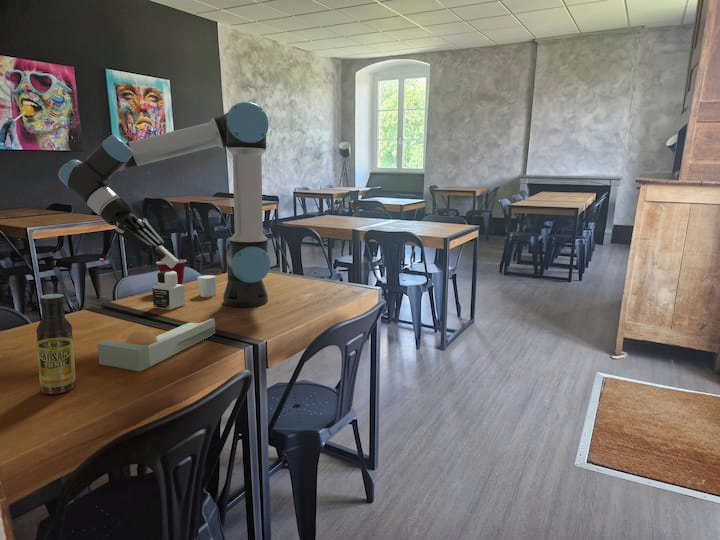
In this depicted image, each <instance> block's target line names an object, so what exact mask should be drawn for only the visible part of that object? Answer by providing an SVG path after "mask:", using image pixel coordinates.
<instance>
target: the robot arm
mask: <svg viewBox="0 0 720 540" xmlns="http://www.w3.org/2000/svg"><path fill="white" fill-rule="evenodd" d="M268 131H269V118H268V116H267V113H266V112H265V110H264V109H263V108H262V107H261V106H260V105H258V104H257V103H255V102H251V101H241V102H238V103H236V104H234V105H232V106H231V107H230V109H228V112H226V113H223V114H222V115H218V116H215V117H212V118H211V119H210V121H209V122H204V123H201V124H196V125H193V126H189V127H185V128H181V129H177V130H172V131H168V132H164V133H160V134H155V135H151V136H147V137H144V138H139V139H135V140H131V141H126V142H124V141H123V140H122V139H121V138H120V137H118V136H117V135H115V134H111V135H110V136H108V137H106V139H104V140H103V141H102V142H101V144H99V146H97V148H96V149H94V151H93V152H91V154H89V156H88V157H86V158H85V159H84V160H83V161H81V160H79V159H71V160H69V161H68V162H66V163H64V164H63V165H62V166H61V167H60V168H59V170H58V174H57V176H58V179H59V180H60V181H61V182H62V183H63V184H64V185H65V186H66V187H67V189H68V190H69V191H70V192H72V193H73V194H74V195H76V197H78V199H79V200H81V202H83V203H84V204H86V205H87V206H88V207H89V208H90V209H92V211H93V212H94V213H96V214H97V215H98V216H100V218H101V219H103V221H104V222H106V223H107V225H109V226H115V229H114V230H113V232H114V234H117V235H119V236H121V237H123V238H124V239H125V240H126V241H128V242H130V243H131V244H133V245H134V246H135V247H137V248H138V249H139V250H141V251H142V252H144V253H147V254H148V255H152V254H154V255H155V256H156V257H157V258H158V259H160V261H163V262H164V263H165V264H166V265H167V266H169V267H170V268H173V267H174V266H175V265H176V264H177V262H178V261H179V260H180V259H178V258H176V257H175V255H173V254H172V253H171V252H170V251H169V250H168V249H166V248H165V247H164V246H163V244H164V239H163V238H162V237H161V236H160V235H159V234H158V233H157V232H156V230H155V229H154V228H153V227H152V226H151V225H150V223H149V221H148V219H147V218H145V217H143V218H142V219H141V218H138V217H137V215H135V214H133V213H132V207H131V205H130V204H129V203H128V202H126V200H124V199H123V198H120V196H119V195H118V194H117V193H116V192H115V191H114V190H113V189H111V187H109V186H108V185H107V184H106V182H107V181H108V180H110V178H111V177H112V176H113V175H115V174H116V173H119V172H123V171H124V172H125V170H126V171H127V170H129V169H133V168H136V167H140V166H143V165H148V164H151V163H156V162H159V161H163V160H167V159H172V158H175V157H179V156H183V155H187V154H190V153H191V154H192V153H194V152H198V151H203V150H206V149H211V148H215V147H219V148H220V149H225V148H226V149H227V151H228V152H229V153H231V155H232V178H233V179H232V183H233V185H232V186H233V215H234V216H233V217H234V234H233V235H232V236H229V237H228V238H226V240H225V249H226V268H227V270H226V271H227V283H226V286H225V289H224V293H223V297H222V299H223V304H224V305H226V306H228V307H234V308H249V307H257V306H261V305H264V304H267V302H268V299H269V296H268V291H267V289H266V287H265V284H264V281H263V279H264V278H266V277H267V276H268V274H269V272H270V270H271V265H272V264H271V257H270V256H269V244H268V243H269V240H268V239H269V238H268V237H267V236H266V235H265V234H264V232H263V230H264V229H263V228H264V226H263V225H264V224H263V180H262V179H263V178H262V177H263V176H262V175H263V173H262V171H263V170H262V169H263V168H262V165H263V164H262V155H263V154H265V152H267V134H268Z"/></svg>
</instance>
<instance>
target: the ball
mask: <svg viewBox="0 0 720 540" xmlns="http://www.w3.org/2000/svg"><path fill="white" fill-rule="evenodd" d="M156 336H157V335H155V334H154V333H153V332H152V331H150V330H147V329H137V330H136V331H133V332H132V333H131V334H129V335H128V337H127V339H126V341H125V342H126V343H132V344H138V345H145V346H148V345H150V344H152V343H154V342H157V338H156Z"/></svg>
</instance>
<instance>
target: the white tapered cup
mask: <svg viewBox="0 0 720 540" xmlns="http://www.w3.org/2000/svg"><path fill="white" fill-rule="evenodd" d="M217 278H218V277H217V275H213V274H205V275H204V274H203V275H199V276H197V277H196V280H197V286H198V292H199V297H202V298H209V297H210V296H211V297H215V296H216V295H217ZM214 295H215V296H214Z"/></svg>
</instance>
